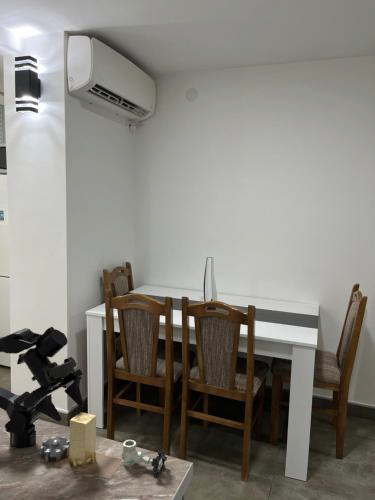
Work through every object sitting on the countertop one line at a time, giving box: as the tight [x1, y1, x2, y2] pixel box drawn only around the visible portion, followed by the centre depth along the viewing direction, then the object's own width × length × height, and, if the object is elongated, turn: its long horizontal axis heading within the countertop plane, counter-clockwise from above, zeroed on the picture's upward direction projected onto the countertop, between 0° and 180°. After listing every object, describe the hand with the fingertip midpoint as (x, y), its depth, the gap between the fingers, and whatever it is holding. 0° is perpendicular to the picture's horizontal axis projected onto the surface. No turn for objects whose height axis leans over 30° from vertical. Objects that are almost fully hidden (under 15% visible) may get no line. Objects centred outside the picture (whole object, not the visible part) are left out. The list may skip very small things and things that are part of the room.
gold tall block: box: [69, 411, 97, 468], centre depth 107 cm, size 7×7×12 cm
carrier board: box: [32, 452, 123, 480], centre depth 107 cm, size 24×9×1 cm, turn 73°
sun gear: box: [39, 436, 70, 464], centre depth 109 cm, size 8×8×4 cm
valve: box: [121, 439, 168, 479], centre depth 106 cm, size 7×7×12 cm
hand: (71, 413), depth 108 cm, fingers open, 9 cm apart
